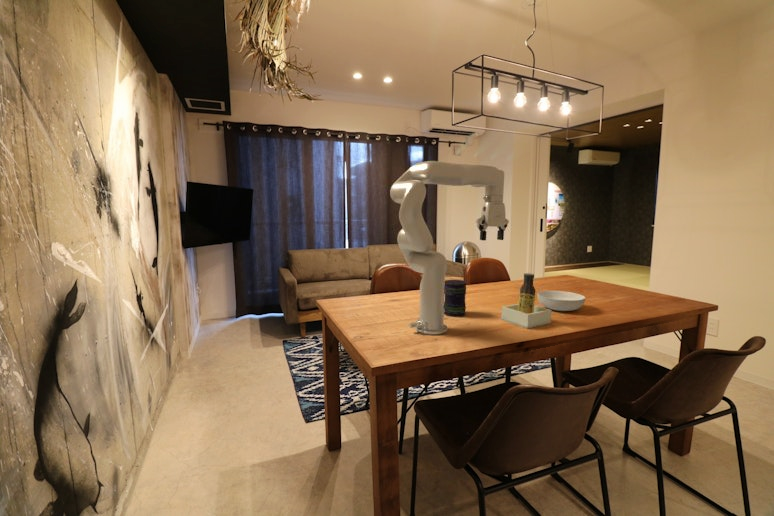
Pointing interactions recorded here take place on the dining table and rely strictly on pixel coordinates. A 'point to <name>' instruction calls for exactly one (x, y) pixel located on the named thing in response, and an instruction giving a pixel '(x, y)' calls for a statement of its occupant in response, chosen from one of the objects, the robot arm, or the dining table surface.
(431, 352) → the dining table surface
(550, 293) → the serving bowl
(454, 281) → the rusty oil drum
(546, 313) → the bin
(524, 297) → the sauce bottle
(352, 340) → the dining table surface
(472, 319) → the dining table surface
